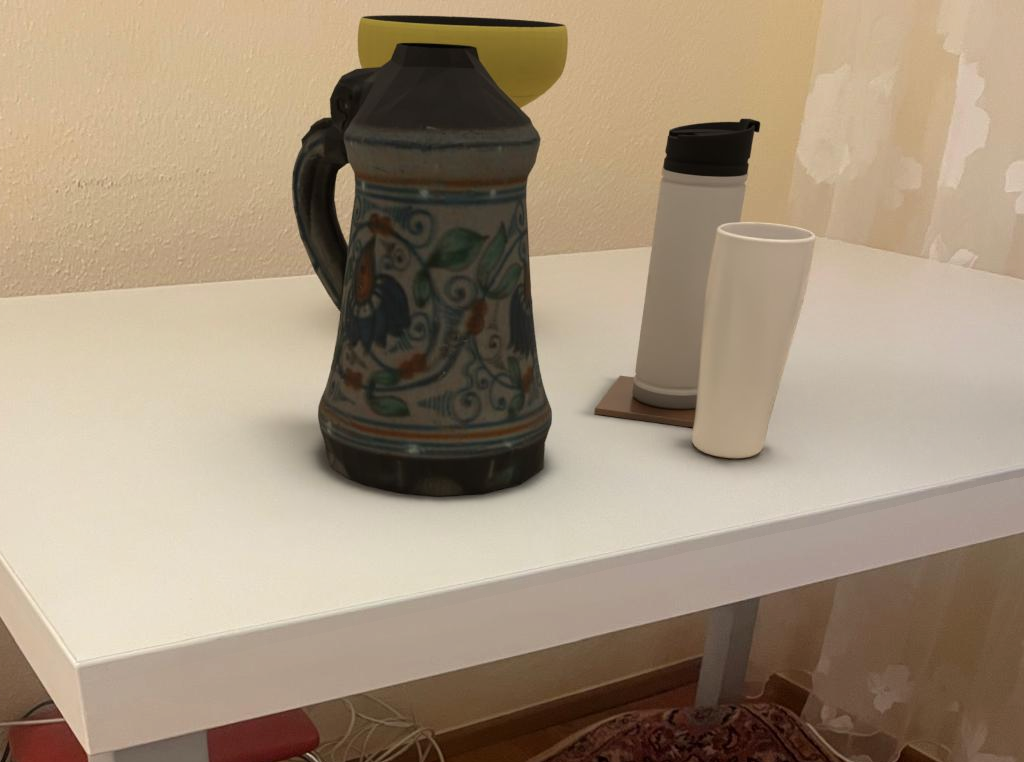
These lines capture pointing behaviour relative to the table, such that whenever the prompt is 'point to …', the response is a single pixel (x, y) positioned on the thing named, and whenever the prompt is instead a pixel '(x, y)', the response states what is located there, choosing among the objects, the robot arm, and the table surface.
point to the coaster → (639, 406)
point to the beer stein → (427, 276)
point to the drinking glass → (748, 332)
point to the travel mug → (687, 254)
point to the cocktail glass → (500, 45)
